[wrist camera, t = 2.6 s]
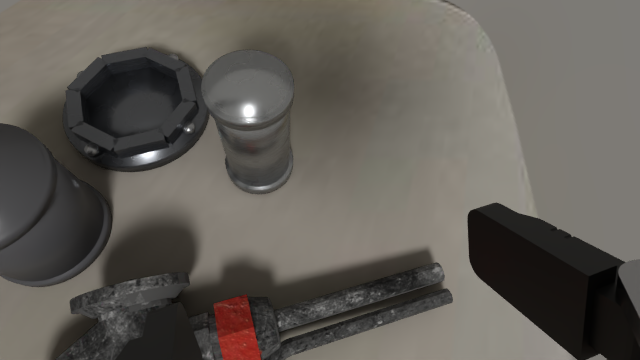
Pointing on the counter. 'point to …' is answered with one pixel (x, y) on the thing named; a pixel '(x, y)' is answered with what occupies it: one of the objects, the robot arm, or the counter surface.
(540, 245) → the robot arm
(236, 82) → the fitting
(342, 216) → the counter surface
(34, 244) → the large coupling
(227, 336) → the valve
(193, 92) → the flange
